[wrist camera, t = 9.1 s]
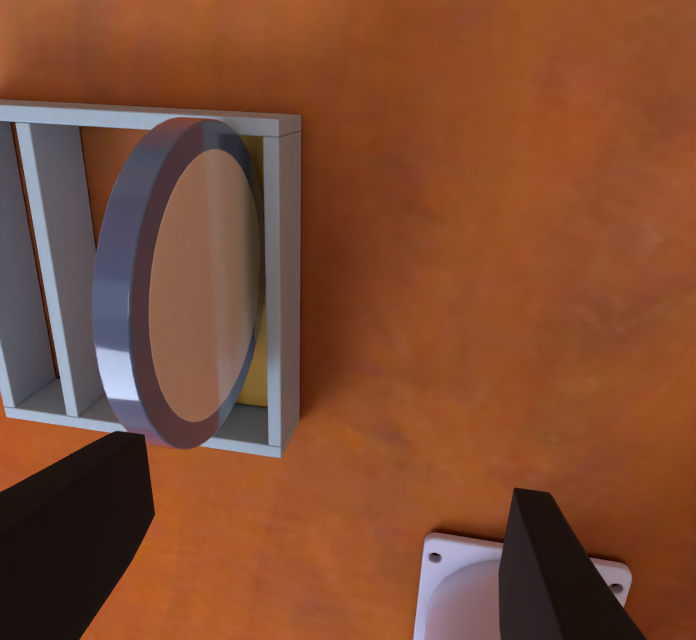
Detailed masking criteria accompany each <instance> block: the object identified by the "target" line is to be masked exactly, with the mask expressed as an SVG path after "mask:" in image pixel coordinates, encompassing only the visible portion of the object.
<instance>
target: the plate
mask: <svg viewBox="0 0 696 640" xmlns="http://www.w3.org/2000/svg"><path fill="white" fill-rule="evenodd" d="M265 283H266V277H265V223H264V207H263V201H262V195H261V190H260V185H259V181H258V177H257V173H256V170H255V167H254V164H253V161H252V159H251V157H250V154H249V152H248V150H247V148H246V146H245V144H244V143H243V141H242V139H241V138H240V137H239V135H238V134H237V133H236V132H235V131H234V130H233V129H232V128H231V127H230V126H229V125H227V124H225V123H223V122H221V121H219V120H217V119H209V118H192V117H177V118H171V119H168V120H166V121H164V122H162V123H160V124H158V125H156V126H155V127H154V128H152V129H151V130H150V131H149V132H147V133H146V134H145V135H144V136H143V138H142V139H141V140H140V141H139V142H138V144H137V145H136V146H135V147H134V149H133V150H132V152H131V153H130V155H129V157H128V158H127V160H126V161H125V163H124V165H123V167H122V169H121V171H120V173H119V175H118V178H117V180H116V182H115V184H114V187H113V189H112V192H111V195H110V198H109V201H108V204H107V207H106V210H105V214H104V218H103V222H102V226H101V230H100V234H99V239H98V245H97V251H96V257H95V264H94V276H93V288H92V324H93V337H94V347H95V353H96V359H97V365H98V370H99V374H100V378H101V381H102V385H103V389H104V392H105V394H106V397H107V399H108V402H109V404H110V406H111V409H112V410H113V412H114V414H115V415H116V417H117V419H118V421H119V422H120V424H121V425H122V426H123V427H124V428H125V429H126V430H127V432H131V433H138V434H145V441H146V444H148V445H152V446H159V447H165V448H172V449H180V450H188V449H191V448H195V447H198V446H200V445H201V444H203V443H205V442H206V441H208V440H209V439H210V438H211V437H212V436H213V435H214V434H215V433H216V432H217V431H218V430H219V428H220V427H221V426H222V425H223V423H224V422H225V420H226V419H227V417H228V416H229V414H230V412H231V410H232V409H233V407H234V405H235V403H236V401H237V399H238V397H239V394H240V392H241V390H242V387H243V385H244V382H245V380H246V377H247V374H248V371H249V368H250V365H251V362H252V358H253V354H254V351H255V347H256V342H257V338H258V333H259V328H260V323H261V317H262V310H263V303H264V294H265Z"/></svg>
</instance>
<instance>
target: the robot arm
mask: <svg viewBox="0 0 696 640" xmlns="http://www.w3.org/2000/svg"><path fill="white" fill-rule="evenodd" d="M154 516H155V511H154V503H153V495H152V487H151V480H150V472H149V464H148V456H147V449H146V441H145V434H138V433H131V432H124V431H115V432H112V433H110V434H108V435H106V436H104V437H102V438H100V439H98V440H96V441H94V442H92V443H91V444H89V445H87V446H85V447H83V448H81V449H79V450H78V451H76V452H74V453H72V454H70V455H69V456H67V457H65V458H63V459H61V460H59V461H58V462H56V463H54V464H52V465H50V466H48V467H47V468H45V469H43V470H41V471H39V472H37V473H36V474H34V475H32V476H30V477H28V478H26V479H25V480H23V481H21V482H19V483H17V484H15V485H13V486H12V487H10V488H8V489H6V490H4V491H2V492H0V640H79V639H80V638H81V636H82V635H83V633H84V632H85V630H86V629H87V627H88V626H89V625H90V623H91V622H92V620H93V619H94V617H95V616H96V614H97V613H98V611H99V610H100V608H101V607H102V605H103V604H104V602H105V601H106V599H107V598H108V596H109V595H110V593H111V592H112V590H113V589H114V587H115V586H116V584H117V583H118V581H119V580H120V578H121V577H122V575H123V574H124V572H125V571H126V569H127V568H128V566H129V565H130V563H131V561H132V560H133V558H134V556H135V554H136V552H137V550H138V548H139V546H140V544H141V542H142V541H143V538H144V536H145V534H146V532H147V530H148V528H149V526H150V524H151V522H152V520H153V518H154ZM431 553H438V554H440V555H432V554H431ZM631 582H632V575H631V572H630V569H629V568H628V566H626V565H625V564H623V563H620V562H614V561H608V560H602V559H596V558H590V557H589V556H588V555H587V553H586V551H585V550H584V548H583V547H582V545H581V543H580V542H579V540H578V539H577V537H576V535H575V534H574V532H573V530H572V529H571V527H570V525H569V524H568V522H567V520H566V519H565V517H564V515H563V513H562V512H561V510H560V508H559V506H558V505H557V503H556V501H555V499H554V498H553V497H552V495H551V494H550V493H549V492H542V491H535V490H528V489H521V488H514V491H513V496H512V502H511V507H510V512H509V518H508V523H507V528H506V534H505V539H504V543H498V542H492V541H486V540H480V539H474V538H468V537H462V536H456V535H449V534H443V533H430V534H428V535H427V536H426V538H425V540H424V549H423V558H422V567H421V575H420V584H419V593H418V602H417V610H416V619H415V628H414V637H413V640H647V639H646V637H645V636H644V635H643V633H642V632H641V631H640V629H639V628H638V627H637V625H636V624H635V623H634V621H633V620H632V619H631V617H630V616H629V615H628V613H627V612H626V610H625V609H624V605H625V602H626V599H627V595H628V592H629V589H630V585H631ZM611 584H618V585H616V586H612V585H611Z"/></svg>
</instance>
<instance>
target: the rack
mask: <svg viewBox="0 0 696 640" xmlns="http://www.w3.org/2000/svg"><path fill="white" fill-rule="evenodd" d="M177 117H192V118H209V119H217V120H219V121H221V122H223V123H225V124H227V125H229V126H230V127H231V128H232V129H233V130H234V131H235V132H236V133H237V134H238V135H239V137H240V138H241V139H242V141H243V143H244V144H245V146H246V148H247V150H248V152H249V154H250V157H251V159H252V161H253V164H254V167H255V170H256V173H257V177H258V181H259V185H260V190H261V195H262V201H263V207H264V223H265V277H266V283H265V294H264V303H263V310H262V317H261V323H260V328H259V333H258V338H257V342H256V347H255V351H254V354H253V358H252V362H251V365H250V368H249V371H248V374H247V377H246V380H245V382H244V385H243V387H242V390H241V392H240V394H239V397H238V399H237V401H236V403H235V405H234V407H233V409H232V410H231V412H230V414H229V416H228V417H227V419H226V420H225V422H224V423H223V425H222V426H221V427H220V428H219V430H218V431H217V432H216V433H215V434H214V435H213V436H212V437H211V438H210V439H209V440H208V441H206V442H205V443H203V444H201V445H200V446H204V447H210V448H217V449H224V450H230V451H237V452H244V453H250V454H257V455H263V456H270V457H277V458H282V456H283V454H284V452H285V450H286V448H287V446H288V444H289V442H290V440H291V438H292V436H293V434H294V432H295V429H296V427H297V425H298V423H299V420H300V413H299V411H300V249H301V131H300V130H301V115H298V114H279V113H260V112H241V111H221V110H202V109H183V108H164V107H144V106H125V105H106V104H87V103H67V102H48V101H29V100H10V99H0V391H1V395H2V400H3V404H4V406H5V407H4V408H5V413H6V416H7V417H11V418H17V419H24V420H31V421H37V422H44V423H51V424H57V425H64V426H70V427H77V428H84V429H90V430H97V431H104V432H110V433H112V432H115V431H124V432H127V430H126V429H125V428H124V427H123V426H122V425H121V424H120V422H119V421H118V419H117V417H116V415H115V414H114V412H113V410H112V409H111V406H110V404H109V402H108V399H107V397H106V394H105V392H104V389H103V385H102V381H101V378H100V374H99V370H98V365H97V359H96V353H95V347H94V337H93V324H92V288H93V276H94V264H95V257H96V248H95V241H94V234H93V226H92V219H91V211H90V204H89V197H88V189H87V182H86V175H85V167H84V160H83V152H82V145H81V138H80V130H79V126H94V127H111V128H128V129H145V130H151V129H152V128H154V127H155V126H156V125H158V124H160V123H162V122H164V121H166V120H168V119H171V118H177ZM10 122H16V129H17V135H18V140H19V146H20V152H21V157H22V163H23V169H24V175H25V180H26V186H27V192H28V197H29V203H30V209H31V214H32V220H33V226H34V231H35V237H36V243H37V248H38V254H39V260H40V266H41V271H42V277H43V283H44V288H45V294H46V300H47V305H48V311H49V317H50V322H51V328H52V334H53V340H54V345H55V351H56V357H57V362H58V368H59V374H60V379H56V376H55V370H54V364H53V359H52V353H51V348H50V342H49V336H48V331H47V325H46V320H45V314H44V308H43V303H42V297H41V292H40V286H39V281H38V275H37V269H36V264H35V258H34V253H33V247H32V241H31V236H30V230H29V225H28V219H27V214H26V208H25V202H24V197H23V191H22V186H21V180H20V174H19V169H18V163H17V158H16V152H15V147H14V141H13V135H12V130H11V124H10ZM239 403H241V404H239ZM246 404H249V405H246ZM254 405H256V406H254ZM261 406H263V407H261Z"/></svg>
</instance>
